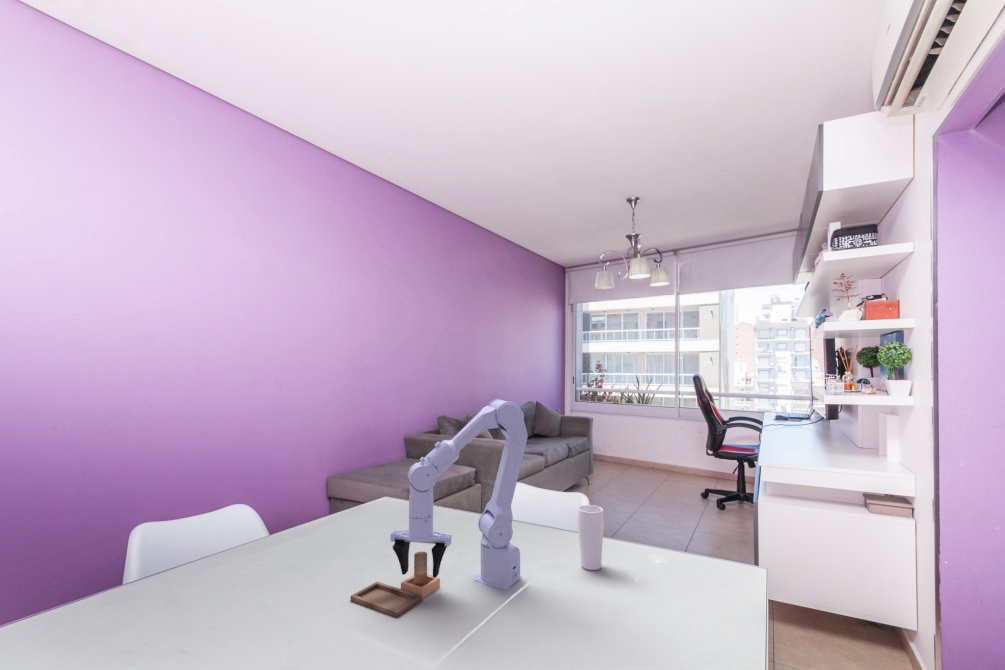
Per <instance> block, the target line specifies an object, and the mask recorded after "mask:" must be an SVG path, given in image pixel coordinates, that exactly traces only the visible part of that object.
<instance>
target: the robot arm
mask: <svg viewBox="0 0 1005 670" xmlns="http://www.w3.org/2000/svg"><path fill="white" fill-rule="evenodd" d="M524 418H525V413H524V412H523V410H522V409H521V407H520V406H519V405H518V404H517V403H516V402H514V401H510V400H509V401H508V400H507V401H506V400H503V399H501V398H497V399H493V400H492V401H490V402H489V404H488V405H486V406H484V407H482V409H481V410H480V411H479V412H478V413H477V414H476V415H475V416H474V417H472V418H471V420H470V421H469V422H468V423H467V424H466V425H465V426H463V428H461V430H460V431H459V432H457V434H456V435H455V436H453V438H451V439H450V440H449V439H448V440H447V439H443V440H442V441H441V442H440V441H437V442H436V443H435V444H434V448H432V450H431V451H430V452H429V453H428V454H427V455H426V456H421V458H419V462H415V463H414V464H412V465H411V466H410V467H409V471H408V473H407V480H408V481H409V483H410V484H409V494H408V495H409V496H408V530H407V529H405V530H393V531H391V532H390V543H391V542H392V543H393V542H394V544H393V545H392V550H393V551H394V553H395V554H396V556H397V560H398V562H399V566H400V570H401V571H400V572H401V575H406V574H407V573H408V571H409V565H410V564H409V562H410V561H409V554H410V545H411V543H417V544H420V543H421V544H432V545H434V546H433V547H432V548H431V554H432V555H431V556H432V576H433V577H435V578H436V577H438V576H439V574H440V568H441V563H442V559H443V557H444V554H445V553H446V550H447V548H448V547H450V545H451V544H452V534H448V533H447V534H446V533H441V532H438V531H434V486H435V485H436V483H437V478H438V477H440V476H441V475H442V474H443V473H444V472H446V470H447V469H449V467H451V466H452V465H453V464H454V463H455V462H456V461H458V460H459V458H460V453H461V452H460V451H461V450H462V449H463V448H464V447H465V446H467V445H468V444H469V443H470V442H471V441H473V440H474V439H475V438H476V437H478V436H479V435H480V434H481V433H482V432H483V431H485V430H490V429H498V428H499V429H500V431H501V433H502V434H503V436H504V437H505V443H504V446H503V450H502V453H501V454H502V455H501V458H500V462H499V465H498V468H497V469H498V470H497V474H496V478H495V483H494V486H493V489H492V494H491V498H490V500H489V501H488V502H487V503H486V504H485V508H484V511H483V512H482V513H481V514H480V517H479V519H478V522H477V524H478V529H479V531H480V532H481V533H482V536H481V539H480V573H479V575H478V576H476V577H474V578H473V581H474V582H478V583H481V584H484V585H487V586H491V587H494V588H498V589H502V590H508V589H510V587H512V586H513V585H514V584H515V583H516V582H518V581H519V580H520V579H521V578H522V575H521V551H520V548H519V547H517V546H515V545H513V544H512V543H511V540H512V538H513V534H514V531H513V524H512V523H513V520H514V516H513V510H512V503H513V500H514V499H513V498H514V495H515V490H516V487H517V483H518V482H517V481H518V478H519V474H520V470H521V466H522V462H523V457H524V454H525V450H526V447H527V446H526V445H527V441H528V435H529V434H528V431H527V427H526V423H525V419H524Z"/></svg>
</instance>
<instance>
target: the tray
mask: <svg viewBox="0 0 1005 670" xmlns="http://www.w3.org/2000/svg"><path fill="white" fill-rule="evenodd" d="M350 601H351V602H353V603H355V604H358V605H361V606H364V607H367V608H369V609H371V610H374V611H378V612H379V613H383V614H385V615H388V616H391V617H393V618H395V619H397V618H399V617H401V616H403V615H404V614H405V613H407V612H409V611H410V610H411V609H413V608H414V607H416V606H417V605H419V604H420V603H422V602H423V598H422V596H420V595H417V594H414V593H411V592H408V591H405V590H401V588H399V587H398V588H397V587H395V586H391V585H388V584H386V583H383V582H379V581H376V582H374V583H372V584H370V585H368V586H367V587H365V588H363V589H361V590H359V591H357V592H355V593H354V594H352V595H350Z"/></svg>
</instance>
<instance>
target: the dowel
mask: <svg viewBox="0 0 1005 670" xmlns="http://www.w3.org/2000/svg"><path fill="white" fill-rule="evenodd" d="M413 555H414V557H413V558H414V559H413V560H414V561H413V567H414V568H413V575H414V585H417V586H420V587H423V586H424V585H426V584H427V575H428V552H426V551H417V552H414V554H413Z"/></svg>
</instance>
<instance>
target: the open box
mask: <svg viewBox="0 0 1005 670" xmlns="http://www.w3.org/2000/svg"><path fill="white" fill-rule="evenodd" d="M440 579H441V578H440V577H438V576H437V577H436V578H435V577H433V575H430V574H427V584H426V585H424V586H423V587H420V586H417V585H414V574H413V575H412V576H410V577H408V578H406V579H405V580H402V581H401V582H400V589H401V590H405V591H408V592H411V593H414V594H417V595H420V596H422V599H424V598H425V597H427V596H428V595H430V594H431V593H434V591H437V590H438V589H439V588H440V587H441V584H440V583H441V580H440Z"/></svg>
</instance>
